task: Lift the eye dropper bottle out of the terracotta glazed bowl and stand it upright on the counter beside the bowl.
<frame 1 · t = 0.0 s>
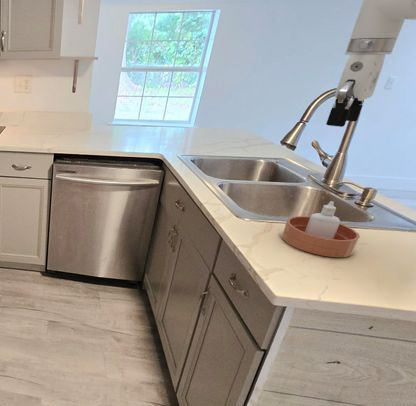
hand: (341, 123, 89), 31 cm above the worktop, tool pointing down, fingers open, 9 cm apart
bowl: (315, 244, 97), on the worktop
eye dropper bottle: (315, 243, 97), resting on bowl
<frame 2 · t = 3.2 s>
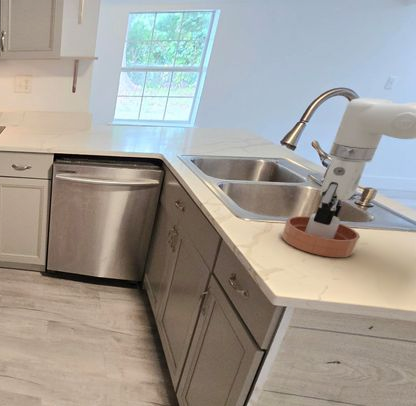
hand: (324, 219, 94), 7 cm above the worktop, tool pointing down, fingers closed on eye dropper bottle, 3 cm apart
eye dropper bottle: (315, 243, 97), resting on bowl, touching gripper
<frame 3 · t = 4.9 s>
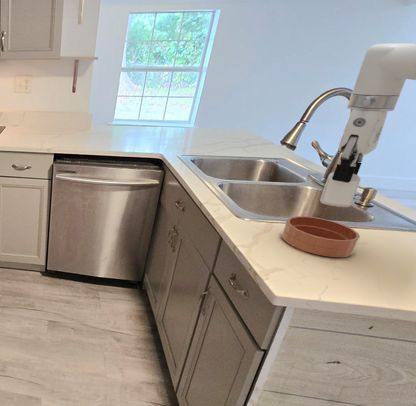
hand: (343, 178, 89), 19 cm above the worktop, tool pointing down, fingers closed on eye dropper bottle, 3 cm apart
eye dropper bottle: (334, 204, 92), point 12 cm above the worktop, touching gripper
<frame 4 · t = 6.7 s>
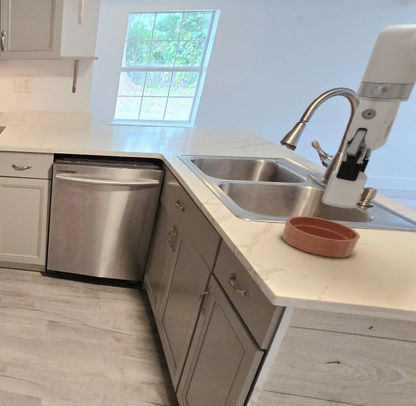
hand: (349, 176, 81), 22 cm above the worktop, tool pointing down, fingers closed on eye dropper bottle, 3 cm apart
eye dropper bottle: (337, 205, 84), point 15 cm above the worktop, touching gripper
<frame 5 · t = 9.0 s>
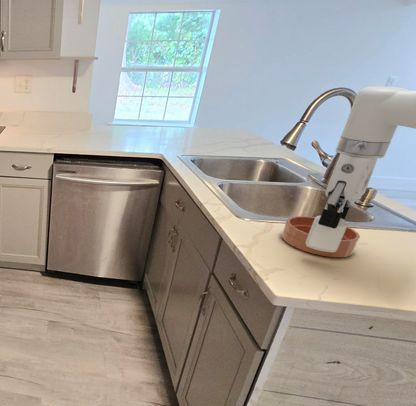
hand: (330, 222, 85), 11 cm above the worktop, tool pointing down, fingers closed on eye dropper bottle, 3 cm apart
eye dropper bottle: (319, 248, 88), point 4 cm above the worktop, touching gripper
when the fingers open (7 cm above the worktop, at t = 10.4 s): eye dropper bottle stays where it is, on the worktop.
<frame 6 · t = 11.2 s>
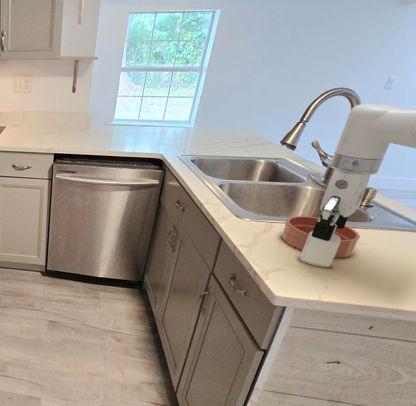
hand: (327, 232, 86), 8 cm above the worktop, tool pointing down, fingers open, 9 cm apart
eye dropper bottle: (314, 263, 89), on the worktop
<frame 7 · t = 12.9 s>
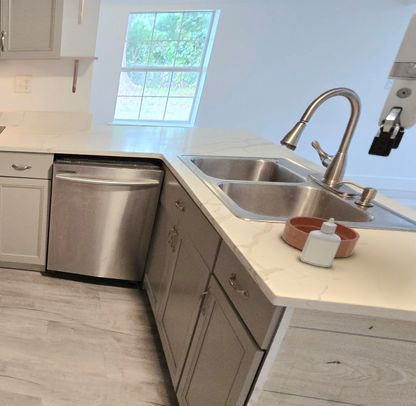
hand: (382, 151, 82), 27 cm above the worktop, tool pointing down, fingers open, 9 cm apart
nothing on the worktop moved.
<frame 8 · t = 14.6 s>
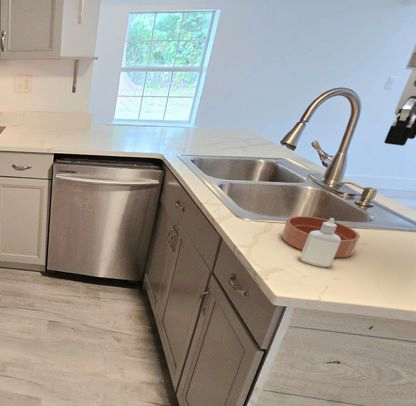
hand: (399, 140, 84), 28 cm above the worktop, tool pointing down, fingers open, 9 cm apart
nothing on the worktop moved.
at the end: eye dropper bottle inside the target area (0.5 cm from its centre), on the worktop; eye dropper bottle tilted 0° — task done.
